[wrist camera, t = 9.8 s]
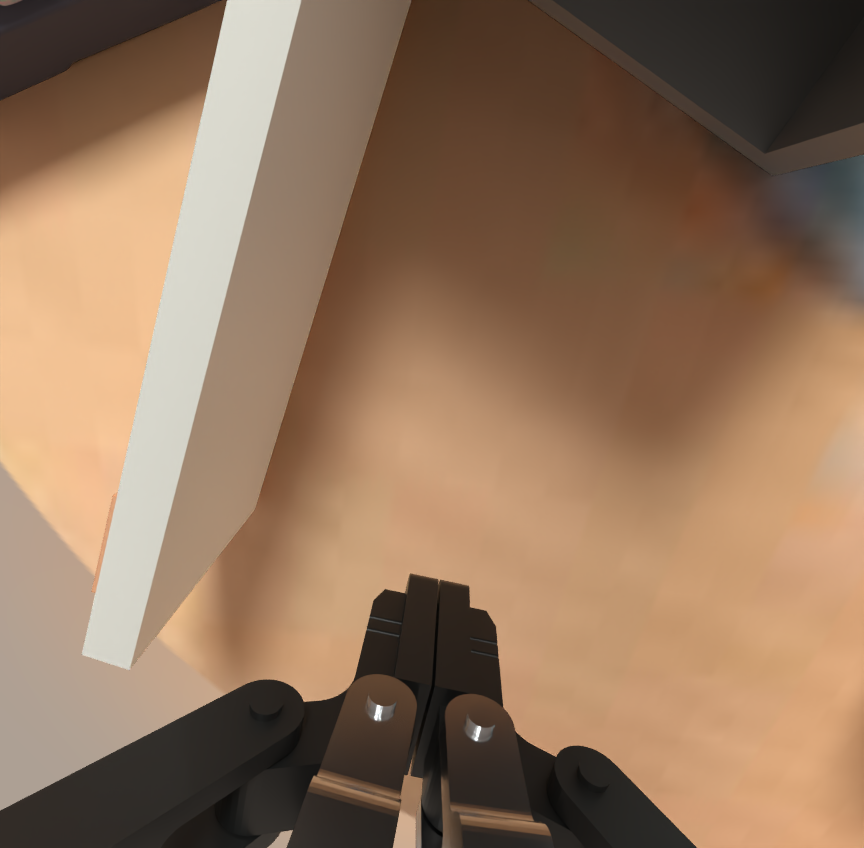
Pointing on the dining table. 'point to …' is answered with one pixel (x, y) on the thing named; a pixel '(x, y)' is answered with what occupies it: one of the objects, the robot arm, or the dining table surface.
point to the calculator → (72, 33)
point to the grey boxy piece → (743, 68)
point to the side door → (238, 295)
